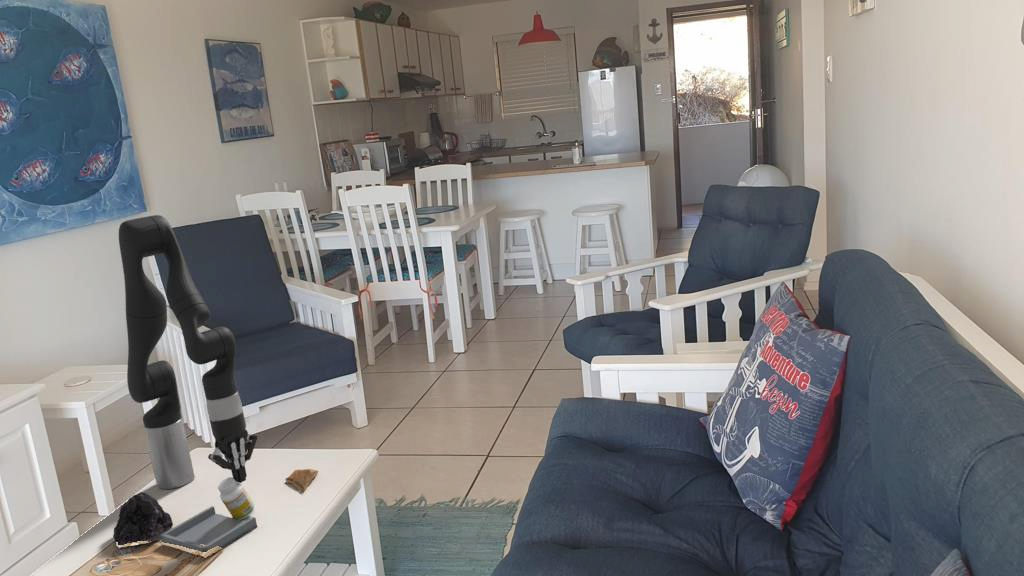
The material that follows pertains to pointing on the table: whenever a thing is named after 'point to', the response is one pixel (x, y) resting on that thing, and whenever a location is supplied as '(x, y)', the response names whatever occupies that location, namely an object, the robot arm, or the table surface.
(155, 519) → the crystal cluster
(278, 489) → the table surface
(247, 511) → the supplement bottle
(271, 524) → the table surface
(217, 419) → the robot arm
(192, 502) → the table surface
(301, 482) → the shard
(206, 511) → the tray
